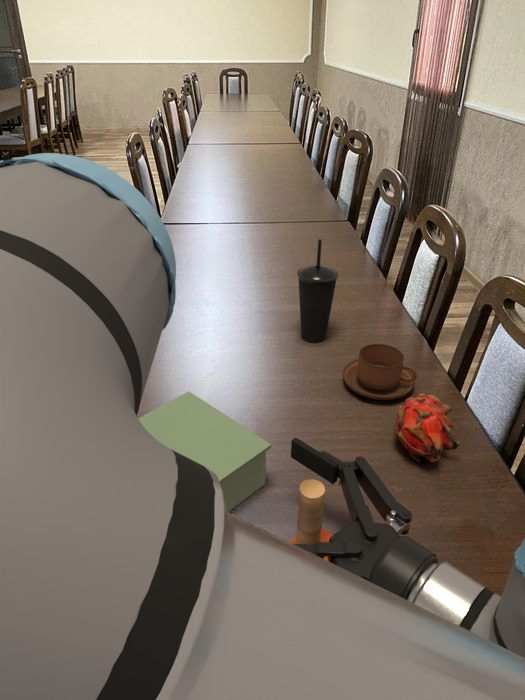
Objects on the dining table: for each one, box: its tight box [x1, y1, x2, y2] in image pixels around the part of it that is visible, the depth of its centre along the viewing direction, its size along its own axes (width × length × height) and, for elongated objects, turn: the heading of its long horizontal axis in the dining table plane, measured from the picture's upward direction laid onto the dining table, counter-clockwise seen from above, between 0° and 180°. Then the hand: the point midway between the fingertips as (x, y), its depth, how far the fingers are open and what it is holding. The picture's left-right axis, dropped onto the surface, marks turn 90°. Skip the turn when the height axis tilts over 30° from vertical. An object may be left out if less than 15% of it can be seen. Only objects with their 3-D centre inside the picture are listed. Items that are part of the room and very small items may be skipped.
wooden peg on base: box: [288, 478, 333, 562], centre depth 57 cm, size 5×8×13 cm, turn 137°
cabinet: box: [137, 391, 272, 513], centre depth 72 cm, size 17×12×7 cm
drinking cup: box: [296, 238, 339, 344], centre depth 101 cm, size 8×8×20 cm
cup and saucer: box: [342, 343, 418, 401], centre depth 91 cm, size 12×12×6 cm
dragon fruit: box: [393, 392, 461, 464], centre depth 77 cm, size 8×8×12 cm
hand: (253, 475), depth 61 cm, fingers open, 13 cm apart
